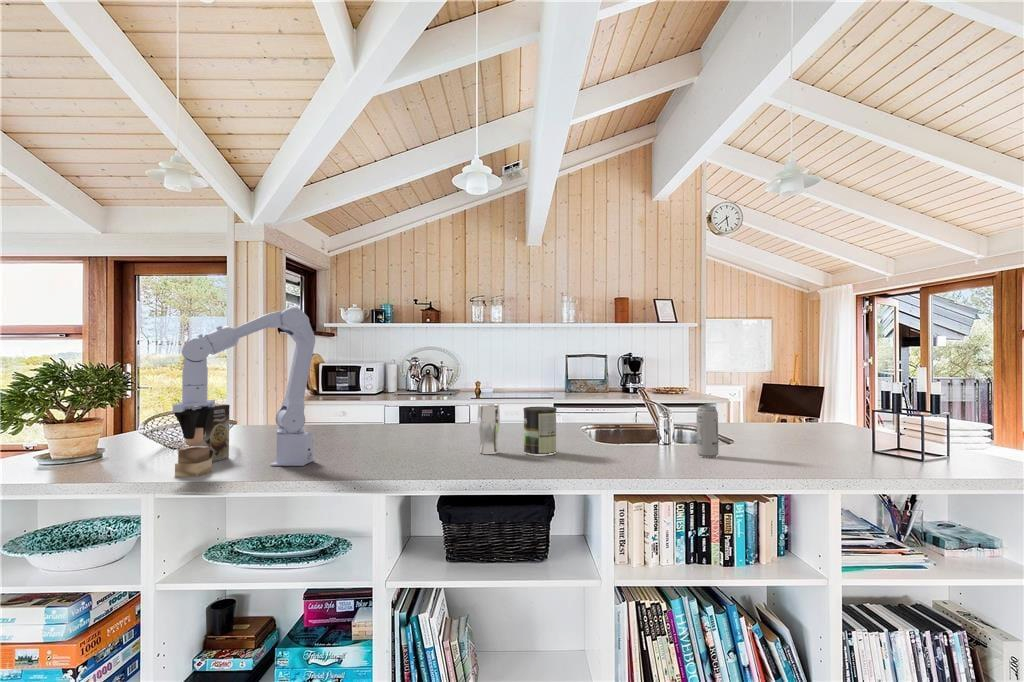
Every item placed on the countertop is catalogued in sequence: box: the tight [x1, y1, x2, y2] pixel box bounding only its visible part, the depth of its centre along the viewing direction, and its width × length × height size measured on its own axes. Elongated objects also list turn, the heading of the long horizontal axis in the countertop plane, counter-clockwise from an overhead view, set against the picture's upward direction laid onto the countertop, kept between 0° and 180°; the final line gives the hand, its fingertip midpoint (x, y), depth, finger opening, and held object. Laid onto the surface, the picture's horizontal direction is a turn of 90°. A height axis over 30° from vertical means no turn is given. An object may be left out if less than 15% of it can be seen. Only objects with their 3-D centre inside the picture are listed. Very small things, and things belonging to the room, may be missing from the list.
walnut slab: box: [177, 446, 210, 463], centre depth 142 cm, size 5×5×4 cm
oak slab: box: [174, 459, 213, 477], centre depth 142 cm, size 6×6×4 cm
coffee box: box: [188, 404, 231, 463], centre depth 160 cm, size 9×6×16 cm
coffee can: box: [522, 406, 557, 454], centre depth 170 cm, size 10×10×14 cm
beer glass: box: [477, 403, 501, 453], centre depth 171 cm, size 7×7×15 cm
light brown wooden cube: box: [185, 427, 203, 446], centre depth 142 cm, size 4×4×4 cm
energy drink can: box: [696, 405, 719, 458], centre depth 163 cm, size 6×6×15 cm
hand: (194, 437), depth 142 cm, fingers closed on light brown wooden cube, 4 cm apart
